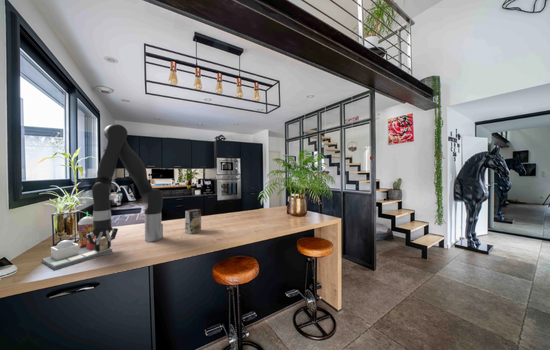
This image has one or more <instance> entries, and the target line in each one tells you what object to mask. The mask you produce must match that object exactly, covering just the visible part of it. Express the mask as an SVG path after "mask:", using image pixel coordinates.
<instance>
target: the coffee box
mask: <svg viewBox="0 0 550 350" xmlns="http://www.w3.org/2000/svg"><path fill="white" fill-rule="evenodd" d="M184 213H185V214H184V215H185V217H184V218H185V219H184V221H185V222H184V223H185V224H184V229H185V230H184V231H185V233H186V234H188V235H192V234H195V233H200V232H201V231H202V209H200V208H198V209H197V208H195V209H188V210H185V212H184Z"/></svg>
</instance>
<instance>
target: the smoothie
mask: <svg viewBox="0 0 550 350" xmlns="http://www.w3.org/2000/svg"><path fill="white" fill-rule="evenodd" d="M77 229H78V237H79V239H78V240H79V245H81V247H86V241H88V239H87V237H86V234H90V233H92V231H93V216H90V215H89V212H88V211H86V216H84V217H82V218H81V219H79V221H78V223H77ZM92 239H93V240H94V239H95V235H94V234H93V237H92Z"/></svg>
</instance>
